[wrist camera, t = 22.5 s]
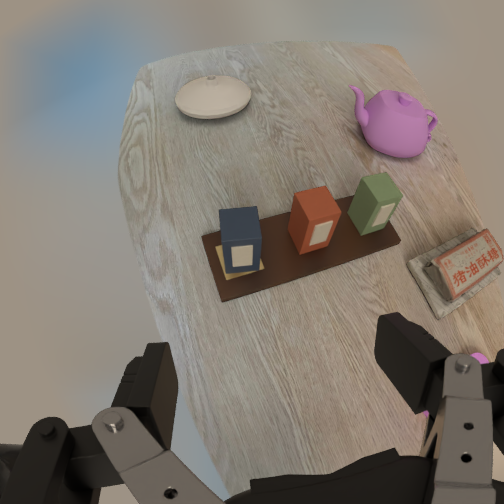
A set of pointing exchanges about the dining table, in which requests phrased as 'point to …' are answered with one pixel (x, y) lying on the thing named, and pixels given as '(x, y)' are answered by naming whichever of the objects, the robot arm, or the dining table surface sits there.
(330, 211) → the orange block
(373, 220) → the green block
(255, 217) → the navy box with label
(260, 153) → the dining table surface
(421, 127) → the teapot
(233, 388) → the dining table surface
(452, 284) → the packaged product
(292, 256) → the brown board
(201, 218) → the dining table surface
